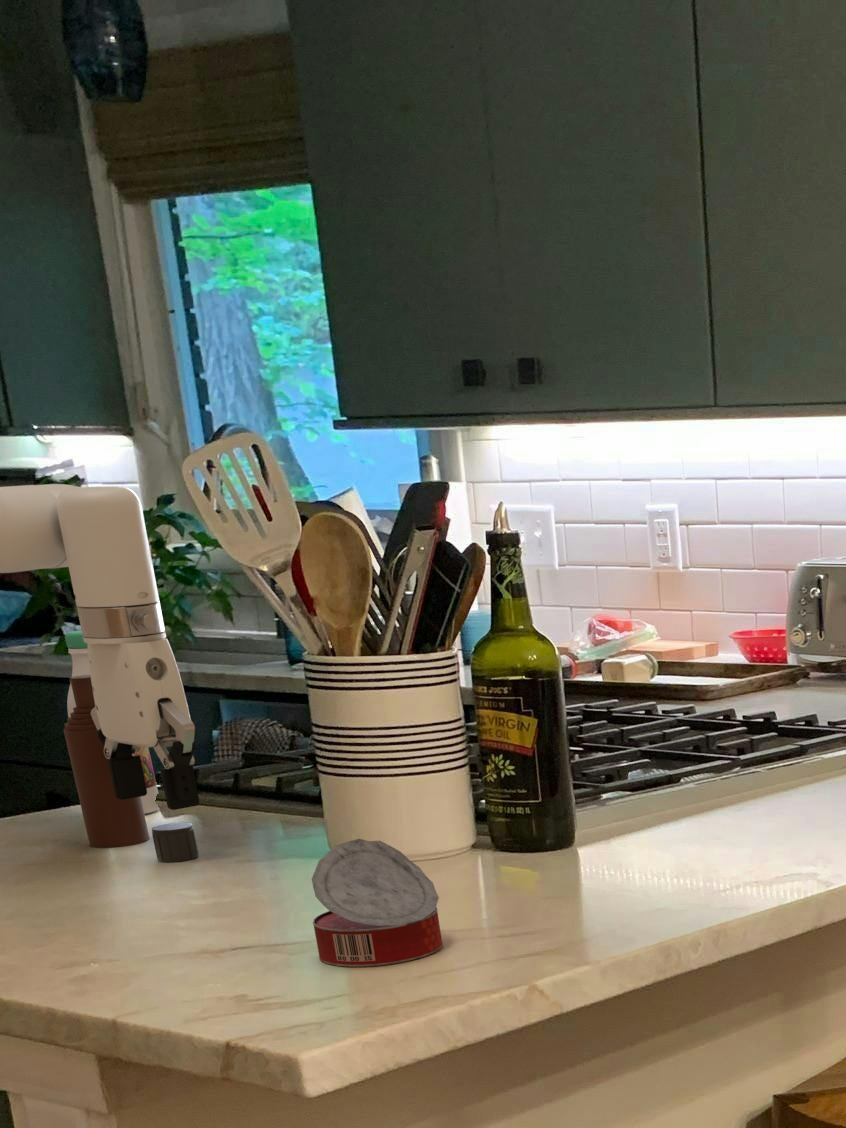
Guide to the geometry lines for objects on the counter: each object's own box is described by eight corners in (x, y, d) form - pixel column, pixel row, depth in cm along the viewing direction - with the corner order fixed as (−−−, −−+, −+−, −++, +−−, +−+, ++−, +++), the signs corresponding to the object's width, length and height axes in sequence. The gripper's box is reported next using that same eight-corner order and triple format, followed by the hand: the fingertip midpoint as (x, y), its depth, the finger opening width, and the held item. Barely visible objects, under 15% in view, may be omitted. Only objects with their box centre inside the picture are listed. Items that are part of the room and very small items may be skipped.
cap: (205, 856, 197) (199, 825, 196) (169, 863, 194) (162, 832, 193) (187, 852, 199) (180, 821, 198) (151, 859, 197) (144, 827, 195)
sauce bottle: (78, 848, 204) (40, 681, 197) (107, 836, 209) (71, 673, 202) (132, 846, 203) (95, 679, 196) (159, 835, 209) (125, 672, 202)
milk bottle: (75, 819, 220) (33, 635, 211) (117, 806, 226) (78, 627, 218) (134, 819, 218) (94, 634, 210) (175, 806, 225) (137, 626, 216)
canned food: (434, 988, 164) (476, 880, 161) (407, 1009, 154) (451, 894, 152) (306, 932, 162) (347, 822, 160) (271, 950, 153) (313, 833, 150)
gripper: (206, 624, 185) (238, 805, 192) (112, 616, 195) (146, 787, 202) (133, 632, 180) (170, 818, 187) (40, 623, 190) (78, 799, 197)
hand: (157, 802), depth 194 cm, fingers open, 9 cm apart
